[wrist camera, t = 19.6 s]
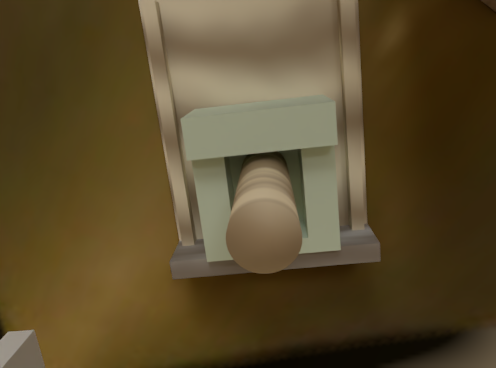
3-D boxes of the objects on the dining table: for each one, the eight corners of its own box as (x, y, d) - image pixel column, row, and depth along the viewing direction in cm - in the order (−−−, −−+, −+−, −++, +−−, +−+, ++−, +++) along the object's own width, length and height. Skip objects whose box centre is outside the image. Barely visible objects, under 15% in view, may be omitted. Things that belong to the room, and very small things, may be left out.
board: (141, -1, 32) (120, -12, 28) (353, -29, 31) (370, -45, 26) (184, 251, 38) (172, 279, 33) (365, 235, 37) (380, 261, 32)
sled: (194, 109, 33) (180, 118, 28) (322, 94, 33) (335, 101, 27) (213, 238, 36) (204, 271, 31) (331, 227, 36) (344, 259, 30)
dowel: (239, 149, 33) (221, 206, 20) (285, 145, 33) (299, 199, 19) (244, 193, 34) (230, 276, 21) (289, 189, 34) (305, 270, 20)
